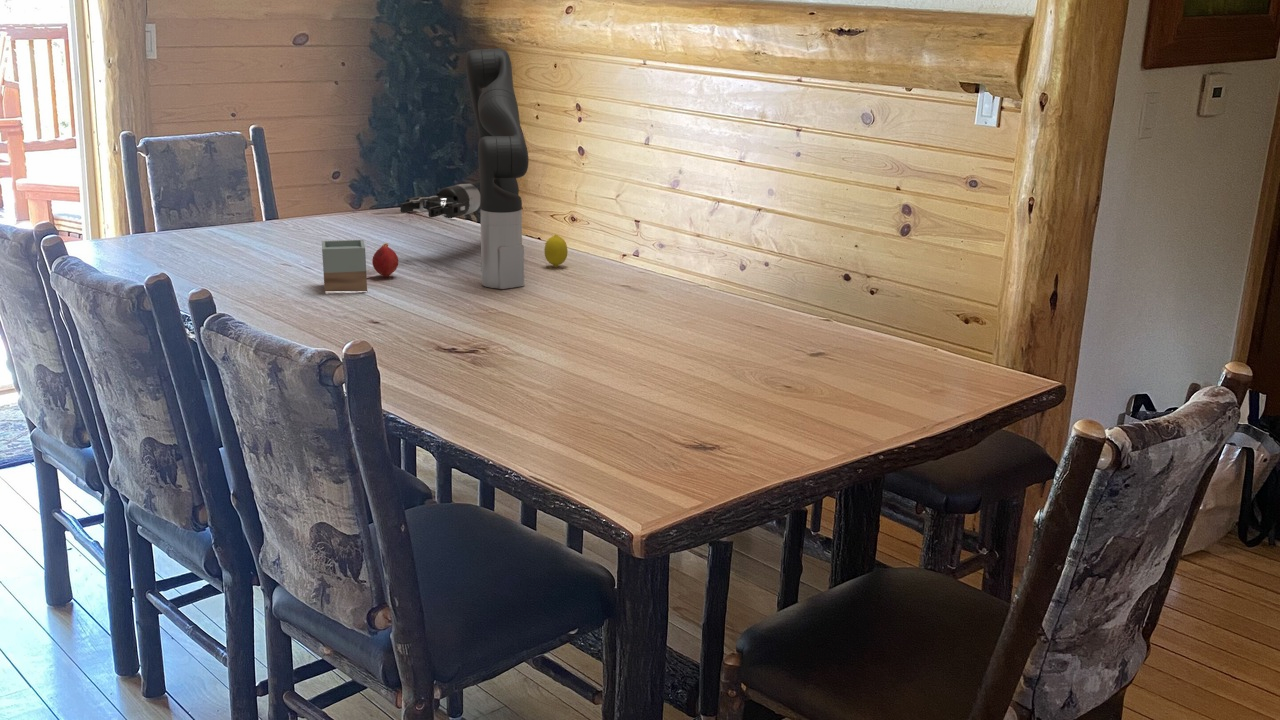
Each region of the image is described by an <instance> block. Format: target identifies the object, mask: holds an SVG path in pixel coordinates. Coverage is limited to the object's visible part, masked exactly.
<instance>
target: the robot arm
mask: <svg viewBox="0 0 1280 720" xmlns="http://www.w3.org/2000/svg"><path fill="white" fill-rule="evenodd" d="M512 67H513V66H512V61H511V57H510V55H509V52H508V51H507V50H506V49H503V48H497V47H496V48H494V47H493V48H486V49H472V50H469V51H467V53H466V56H465V68H466V69H465V70H466V78H467V83H468V88H469V89H468V90H469V94H470V99H471V100H470V101H471V105H472V109H473V114H474V118H475V122H476V126H477V132H478V136H479V137H478V139H479V140H478V146H477V159H478V161H477V162H478V175H479V179H478V180H476V181H474V182H470V183H459V184H455V185H450V186H446V187H443V188H441V189H439V190H438V192H437V193H436V195H432V196H431V195H430V196H429V197H428V196H427V197H425V196H424V195H420V196H414V197H409V198H406V199H405V202H403V203H402V202H401V203H400V205H399V206H400V207H399V208H400V213H402V214H406V213H409V212H415V211H419V212H420V213H428V217H429V218H436V217H440V216H442V217H443V218H446V219H454V218H457V217H462V216H465V215H469V214H472V213H474V212H476V211H480V213H479V214H480V266H481V285H482V286H484V287H486V288H492V289H498V290H507V289H512V288H513V289H514V288H518V287H519V288H520V287H523V286H525V256H524V255H525V252H524V251H525V249H524V248H525V246H524V245H523V224H522V223H523V201H522V197H521V196H520V195H519V194H520V193H519V192H520V191H519V190H520V188H519V183H518V180H517V179H519V178H522V177H524V176H525V175H526V173H527V172H528V169H529V151H528V147H527V143H526V140H525V136H524V133H523V131H522V127H521V120H520V113H519V112H520V111H519V107H518V106H519V105H518V102H517V98H516V94H515V89H514V81H513V68H512ZM424 207H425V209H424Z"/></svg>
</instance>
